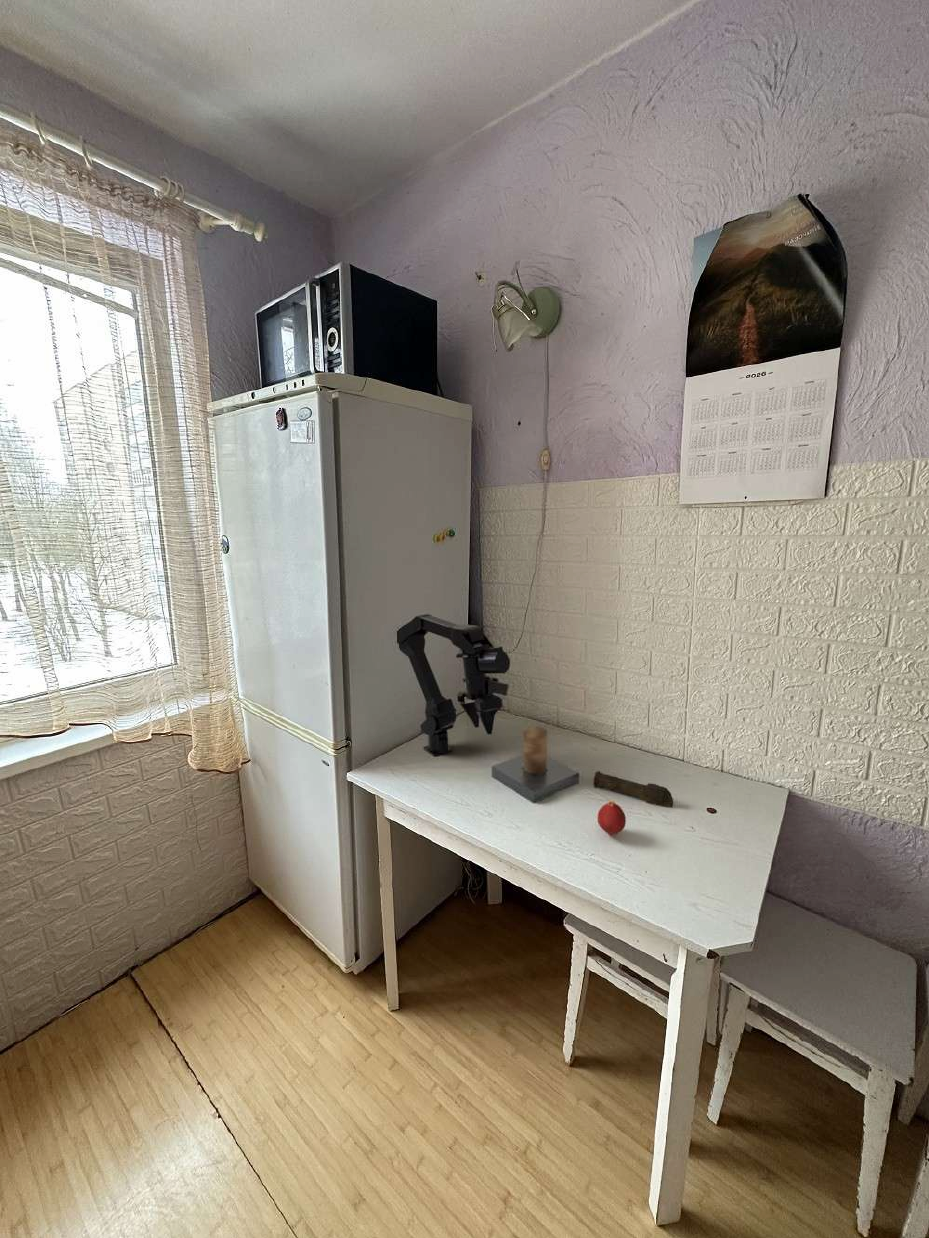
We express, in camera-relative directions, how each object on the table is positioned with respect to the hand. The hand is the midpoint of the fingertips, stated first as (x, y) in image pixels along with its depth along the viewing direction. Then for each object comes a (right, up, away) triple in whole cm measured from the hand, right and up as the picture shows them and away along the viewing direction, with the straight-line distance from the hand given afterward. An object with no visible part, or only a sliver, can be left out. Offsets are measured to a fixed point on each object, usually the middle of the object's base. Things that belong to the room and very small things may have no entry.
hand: (483, 730), depth 135 cm
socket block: (+13, -12, -3) cm, 18 cm away
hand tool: (+37, -14, -11) cm, 41 cm away
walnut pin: (+13, -12, -3) cm, 18 cm away
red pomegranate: (+27, -17, -27) cm, 41 cm away
